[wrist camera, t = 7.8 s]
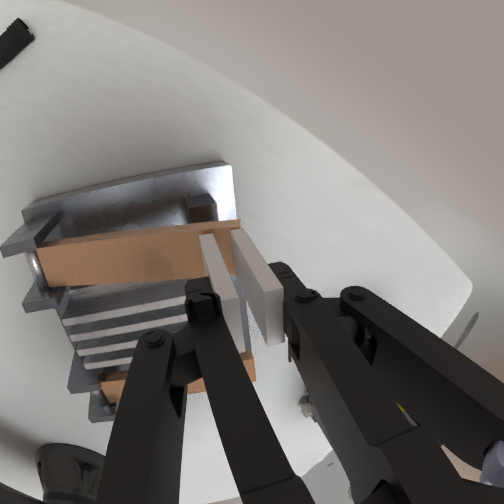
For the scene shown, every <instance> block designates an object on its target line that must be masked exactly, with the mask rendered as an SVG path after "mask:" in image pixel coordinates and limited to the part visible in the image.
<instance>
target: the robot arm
mask: <svg viewBox="0 0 504 504" xmlns="http://www.w3.org/2000/svg"><path fill="white" fill-rule="evenodd" d="M230 238H231V247H232V256H233V264H234V273H235V276H236V278H237V280H238V282H239V285H240V287H241V289H242V291H243V294H244V296H245V298H246V300H247V302H248V305H249V307H250V309H251V311H252V314H253V316H254V318H255V320H256V322H257V325H258V327H259V329H260V331H261V333H262V336H263V338H264V340H265V342H266V344H267V346H271V345H275V344H279V343H283V342H285V334H286V336H287V337H288V359H289V362H291V357H293V360H294V362H295V364H296V366H297V368H298V371H299V373H300V375H301V377H302V379H303V381H304V384H305V386H306V388H307V390H308V392H309V395H310V397H311V399H312V401H313V403H314V405H315V408H316V410H317V412H318V414H319V416H320V418H321V421H322V423H323V425H324V427H325V429H326V431H327V434H328V436H329V438H330V440H331V442H332V444H333V447H334V449H335V451H336V453H337V455H338V457H339V459H340V462H341V464H342V466H343V468H344V470H345V472H346V475H347V477H348V479H349V481H350V486H351V495H352V499H353V501H354V503H355V504H504V384H503V383H502V382H501V381H500V380H498V379H497V378H495V377H494V376H493V375H491V374H490V373H489V372H487V371H486V370H484V369H483V368H481V367H480V366H479V365H477V364H476V363H475V362H473V361H472V360H470V359H469V358H468V357H466V356H465V355H463V354H462V353H461V352H459V351H458V350H456V349H455V348H453V347H452V346H451V345H449V344H448V343H446V342H445V341H443V340H442V339H441V338H439V337H438V336H436V335H435V334H433V333H432V332H430V331H429V330H428V329H426V328H425V327H423V326H422V325H420V324H419V323H417V322H416V321H414V320H413V319H411V318H410V317H408V316H407V315H405V314H404V313H403V312H401V311H400V310H398V309H397V308H395V307H394V306H392V305H391V304H389V303H388V302H386V301H385V300H383V299H382V298H380V297H379V296H377V295H376V294H374V293H373V292H371V291H370V290H368V289H366V288H364V287H359V286H350V287H346V288H345V289H343V290H342V291H341V293H340V298H322V296H321V295H320V294H319V293H318V292H317V291H315V290H312V289H307V288H306V287H305V286H304V285H303V283H302V282H301V281H300V279H299V278H298V277H297V276H296V274H295V273H294V272H293V271H292V269H291V268H290V267H289V266H288V265H287V264H285V263H283V262H276V263H270V264H267V263H266V261H265V260H264V258H263V257H262V255H261V254H260V252H259V251H258V249H257V248H256V246H255V245H254V243H253V242H252V240H251V239H250V238H249V236H248V235H247V233H246V232H245V230H244V229H243V228H240V229H234V230H230ZM199 239H200V246H201V252H202V258H203V264H204V270H205V276H206V277H201V278H196V279H191V280H188V281H187V283H186V284H185V286H184V287H185V295H186V300H185V303H184V305H185V310H186V314H187V318H188V323H187V325H186V326H185V327H184V328H183V329H181V330H180V331H178V332H176V333H173V334H170V332H168V331H166V330H163V329H156V330H151V331H148V332H146V333H144V334H143V335H142V336H141V337H140V338H139V340H138V342H137V345H136V348H135V351H134V354H133V357H132V361H131V364H130V367H129V370H128V374H127V377H126V380H125V384H124V387H123V391H122V394H121V398H120V401H119V405H118V408H117V412H116V416H115V420H114V423H113V427H112V431H111V435H110V439H109V443H108V447H107V451H106V456H105V457H104V456H102V455H100V454H98V453H95V452H93V451H90V450H87V449H84V448H80V447H76V446H71V445H64V444H50V445H45V446H42V447H41V448H39V450H38V452H37V459H36V465H37V469H38V473H39V477H40V481H41V485H42V489H43V501H41V500H38V499H36V498H33V497H31V496H29V495H26V494H24V493H22V492H19V491H17V490H15V489H13V488H11V487H9V486H7V485H5V484H3V483H1V482H0V504H179V490H180V474H181V460H182V447H183V434H184V423H185V412H186V402H187V392H188V384H190V383H192V382H194V381H196V380H198V379H200V378H202V377H203V381H204V385H205V388H206V392H207V395H208V399H209V402H210V406H211V409H212V412H213V416H214V419H215V422H216V426H217V429H218V432H219V435H220V438H221V441H222V445H223V448H224V451H225V454H226V457H227V460H228V463H229V466H230V469H231V471H232V474H233V477H234V480H235V483H236V486H237V488H238V491H239V494H240V497H241V500H242V502H243V504H315V502H314V500H313V498H312V497H311V494H310V492H309V491H308V489H307V487H306V485H305V483H304V482H303V481H302V479H301V478H300V477H299V476H297V475H296V474H295V473H294V471H293V470H292V468H291V466H290V464H289V462H288V460H287V457H286V455H285V453H284V451H283V449H282V447H281V445H280V443H279V441H278V439H277V437H276V435H275V432H274V430H273V428H272V426H271V424H270V422H269V420H268V417H267V415H266V413H265V411H264V409H263V406H262V404H261V402H260V400H259V398H258V395H257V393H256V391H255V389H254V386H253V384H252V382H251V380H250V377H249V375H248V373H247V371H246V368H245V366H244V364H243V361H242V359H241V357H240V354H239V353H241V352H245V344H244V336H243V328H242V320H241V312H240V303H239V297H238V294H237V292H236V289H235V287H234V285H233V282H232V280H231V277H230V275H229V272H228V270H227V268H226V265H225V263H224V260H223V258H222V255H221V253H220V250H219V248H218V245H217V243H216V240H215V238H214V235H213V233H211V234H205V235H199ZM367 330H368V331H370V332H371V333H372V336H369V335H368V334H367V333H366V332H367ZM398 405H400V406H401V407H402V408H403V409H404V410H405V411H406V412H407V413H408V414H410V415H411V416H412V417H413V418H414V419H415V420H416V421H417V422H418V423H420V424H421V425H422V426H413V425H412V424H411V423H410V422H409V421H408V419H407V418H406V416H405V415H404V413H403V412H402V410H401V409H400V407H399V406H398ZM434 437H435V438H436V439H437V440H439V441H440V442H441V443H442V444H443V445H444V446H445V447H446V448H448V449H449V450H450V451H451V452H452V453H453V454H455V455H456V456H457V457H458V458H460V459H461V460H462V461H464V462H465V463H467V464H469V465H470V466H472V467H474V468H476V469H479V470H481V471H482V473H481V475H480V482H481V483H479V482H475V481H471V480H467V479H463V478H461V477H460V475H459V474H458V472H457V471H456V469H455V468H454V466H453V465H452V463H451V462H450V460H449V459H448V457H447V456H446V454H445V453H444V451H443V450H442V448H441V447H440V445H439V444H438V442H437V441H436V439H435V438H434ZM490 484H492V485H493V486H492V485H490Z"/></svg>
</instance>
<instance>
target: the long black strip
mask: <svg viewBox="0 0 504 504" xmlns="http://www.w3.org/2000/svg"><path fill="white" fill-rule="evenodd" d="M27 29H29V28H28V26H27V25H26V24H25V23H24V22H23V21H22V20H21V19H19V18H17V19H16V20H15V21H14V22H13V23H11V25H9V28H7V30H6V31H5V32H4V33H3V34H2V35H1V36H0V68H2V67H3V66H4V65H5V64H7V63H8V62H9V61H10V60H11V59H12V58H13V57H14V56H15V55H16V54H17V53H18V52H19V51H20V50H21V49H22V48H23V47H25V46H27V44H29V42H31V41H32V40H33V39H34V38H35V37H34V35H33V34H30V33H29V31H28V30H27Z"/></svg>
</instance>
